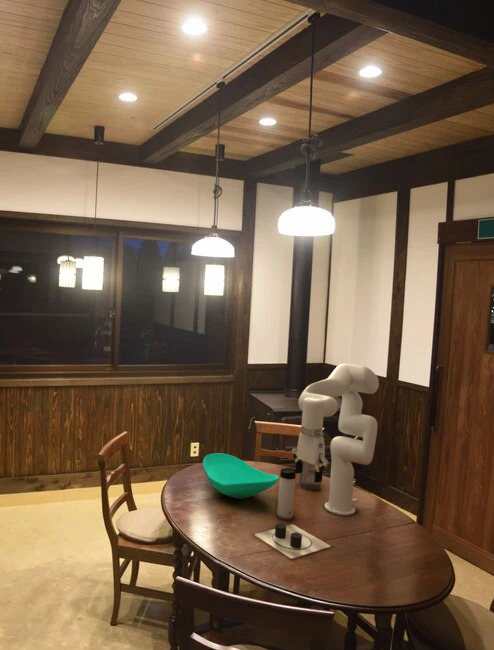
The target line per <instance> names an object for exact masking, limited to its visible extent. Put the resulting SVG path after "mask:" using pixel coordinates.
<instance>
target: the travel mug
mask: <svg viewBox="0 0 494 650" xmlns="http://www.w3.org/2000/svg"><path fill="white" fill-rule="evenodd" d="M279 474H280V475H279V483H278V484H279V485H278V499H277V513H276V516H277V517H278V518H279V519H280V520H288V521H289V520H292V519H293V517H294V505H295V503H294V502H295V493H296V492H295V491H296V477H297V474H296V473H295V468H292V467H285V468H282V469H280V473H279Z"/></svg>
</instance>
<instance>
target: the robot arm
mask: <svg viewBox="0 0 494 650" xmlns="http://www.w3.org/2000/svg"><path fill="white" fill-rule="evenodd" d="M379 384H380V381H379V377H378V375H377V374H376V373H375V372H374V371H373V370H372V369H370V368H369V366H368V367H367V366H366V365H360V364H352V363H351V364H350V363H340V364H338V365H336V367H335V368H334V369H333V371H332V372H331V374H330V375H329V376H328V377H327V378H325V379H322V380H320V381H316V382H313V383H311V384H309V385H308V386H306V388H305V389H304V390H303V391H302V393H301V394H300V395H299V398H298V403H297V404H298V407H299V409H300V411H302V413H301V414H302V415H301V427H300V428H301V429H300V433H299V436H298V441H297V446H296V447H293V448H291V451H292V456H293V459H294V463H295V468H294V469H295V473H296V475H297V474H300V473H302V471H303V462H302V461H305V462H307V463H310V464H312V465H314V466H315V468H316V470H317V471H315V482H316V483H317V482H321V483H322V481H323V472H325V470H326V469H327V468H328V466H329V465H330V464H331V465H330V467H331V468H330V476H329V478H330V479H329V490H328V491H329V492H328V501H326V502H325V503H324V509H325V510H327V512H329V513H331V514H334V515H337V516H352V515H355V512H356V509H355V507H354V504H355V505H356V504H358V503H359V499H358V498H353V493H354V481H355V479H354V478H355V470H354V466H353V464H352V463H355V464H360V465H364V466H365V465H370V464H371V463H372V462H373V458H374V453H375V447H376V442H377V435H378V421H377V419H376V418H375V417H374V416H371V415H368V414H362V410H363V404H364V403H363V399H362V397H361V395H360V393H361V394H362V393H363V394H368V395H372V394H375V393H376V392H377V391H378V389H379V386H380V385H379ZM338 397H341V406H340V412H339V417H338V423H337V425H338V426H337V427H338V430H339V432H341V433H343V434H346V435H349V436H354V437H359V438H362V440H360V439H356V438H352V437H347V436H340V435H339V436H338V435H337V436H335V437H334V438H332V439H331V441H330V446H329V447H330V448H329V449H330V457H331V458H330V459H331V461H329V460H328V459H327V458H326V450H325V449H326V448H325V447H326V446H325V438H324V435H325V433H324V432H323V430H324V429H323V427H324V418H326V417H327V418H329V417H332V416H333V415H335V414H336V413H337V412H338V406H339V405H338V401H337V399H335V398H338ZM330 462H331V463H330ZM318 465H319V466H318ZM319 467H320V468H319Z"/></svg>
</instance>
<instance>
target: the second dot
mask: <svg viewBox="0 0 494 650" xmlns="http://www.w3.org/2000/svg"><path fill="white" fill-rule="evenodd" d="M301 543H302V535H301V534H300V533H295V532H294V533H291V538H290V546H291V547H293V548H301Z"/></svg>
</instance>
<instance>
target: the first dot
mask: <svg viewBox="0 0 494 650" xmlns="http://www.w3.org/2000/svg"><path fill="white" fill-rule="evenodd" d="M286 526H287V525H286V524H284V523H276V524H275V525H274V527H275V528H274V529H275V537H277V538H280V539H284V538H285V537H286Z"/></svg>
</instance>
